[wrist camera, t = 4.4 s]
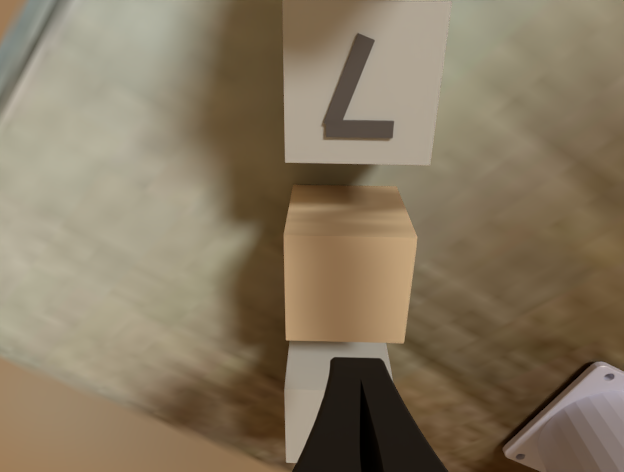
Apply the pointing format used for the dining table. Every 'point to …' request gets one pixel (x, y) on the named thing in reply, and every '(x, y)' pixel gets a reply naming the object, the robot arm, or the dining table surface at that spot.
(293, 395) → the marked block 1
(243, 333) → the dining table surface
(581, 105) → the dining table surface
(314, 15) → the marked block 7
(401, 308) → the plain block
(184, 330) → the dining table surface
